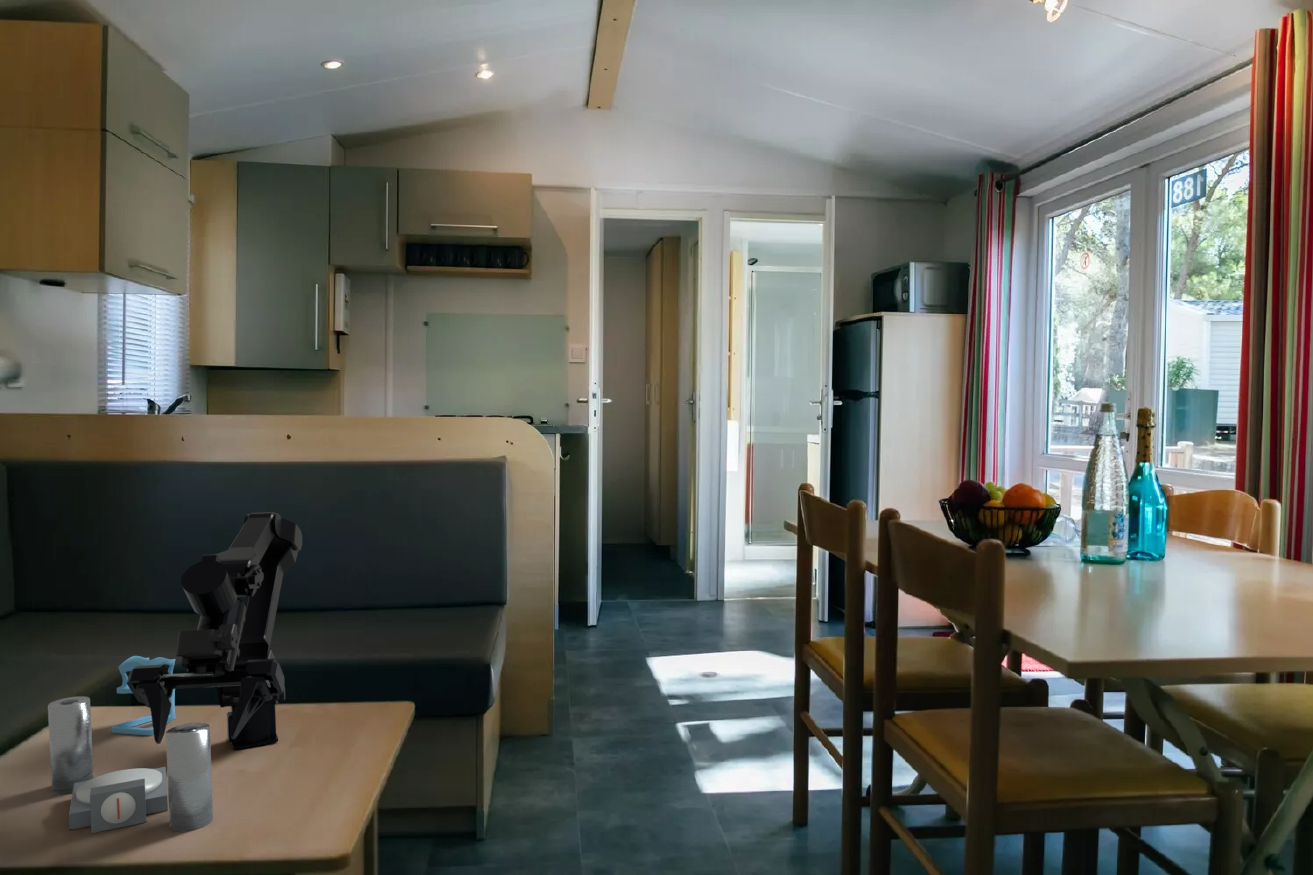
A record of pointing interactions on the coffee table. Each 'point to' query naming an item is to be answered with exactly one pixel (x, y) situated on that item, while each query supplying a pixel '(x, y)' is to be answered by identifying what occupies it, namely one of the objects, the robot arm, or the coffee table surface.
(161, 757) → the coffee table surface
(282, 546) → the robot arm
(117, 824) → the scale
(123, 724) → the chair
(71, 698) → the cylinder
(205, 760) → the silver metal cylinder
